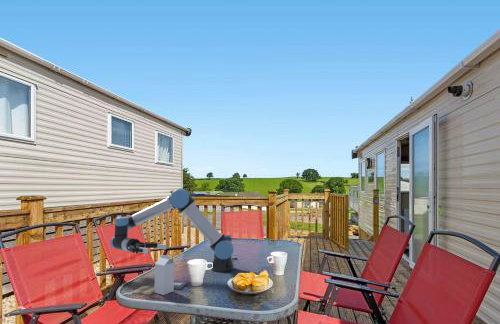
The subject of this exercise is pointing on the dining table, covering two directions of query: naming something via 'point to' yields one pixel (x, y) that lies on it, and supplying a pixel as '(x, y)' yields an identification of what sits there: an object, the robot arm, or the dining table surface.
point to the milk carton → (164, 275)
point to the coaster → (144, 290)
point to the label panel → (178, 285)
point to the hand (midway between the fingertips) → (156, 249)
